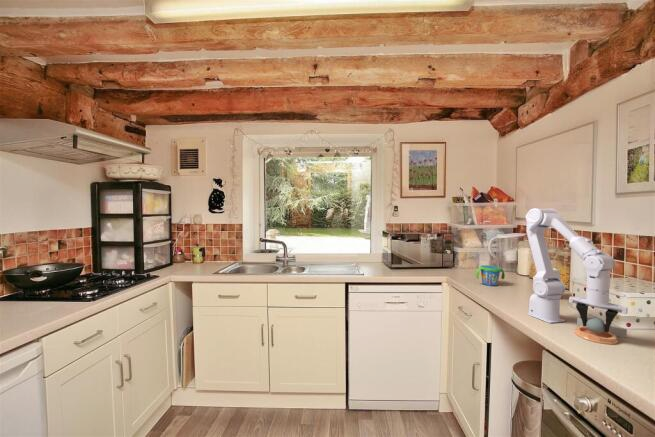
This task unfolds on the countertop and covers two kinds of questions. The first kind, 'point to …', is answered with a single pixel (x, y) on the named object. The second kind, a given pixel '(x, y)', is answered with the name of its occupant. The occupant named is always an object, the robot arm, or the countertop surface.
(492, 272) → the snack cup
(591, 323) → the ball
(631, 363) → the countertop surface
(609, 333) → the bowl
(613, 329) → the acrylic wall
